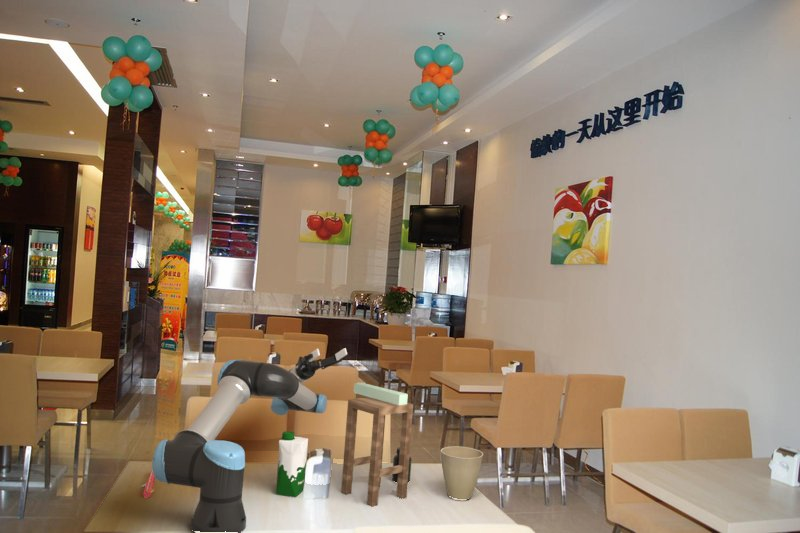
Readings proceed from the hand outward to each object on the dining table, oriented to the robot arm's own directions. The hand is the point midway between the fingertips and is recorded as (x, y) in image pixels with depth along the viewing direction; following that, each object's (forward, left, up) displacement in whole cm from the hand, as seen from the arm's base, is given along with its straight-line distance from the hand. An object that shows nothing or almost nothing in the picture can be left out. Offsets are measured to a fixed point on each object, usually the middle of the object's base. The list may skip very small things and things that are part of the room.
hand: (332, 351), depth 238 cm
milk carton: (-27, -17, -45) cm, 55 cm away
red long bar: (-62, +14, -46) cm, 79 cm away
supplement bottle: (+15, -28, -45) cm, 55 cm away
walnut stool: (-4, -34, -45) cm, 56 cm away
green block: (0, -29, -13) cm, 32 cm away
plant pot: (+20, -52, -45) cm, 72 cm away
